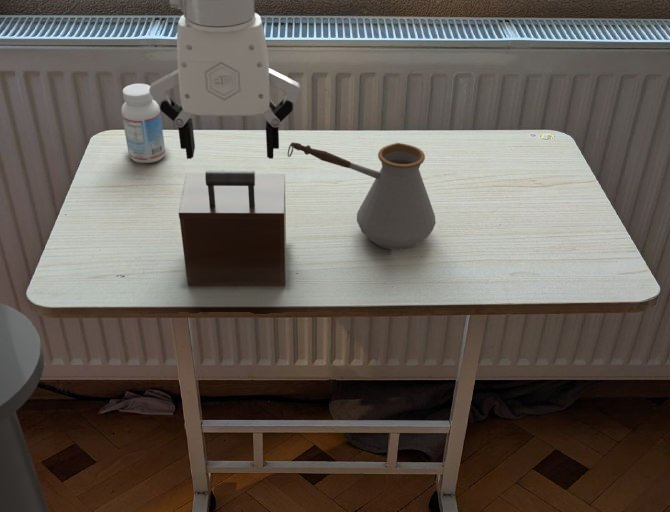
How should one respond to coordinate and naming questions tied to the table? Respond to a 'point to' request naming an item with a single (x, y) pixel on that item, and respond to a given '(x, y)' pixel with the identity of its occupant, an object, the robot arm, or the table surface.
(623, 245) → the table surface
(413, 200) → the coffee pot
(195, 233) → the chest
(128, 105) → the pill bottle
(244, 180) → the lid
